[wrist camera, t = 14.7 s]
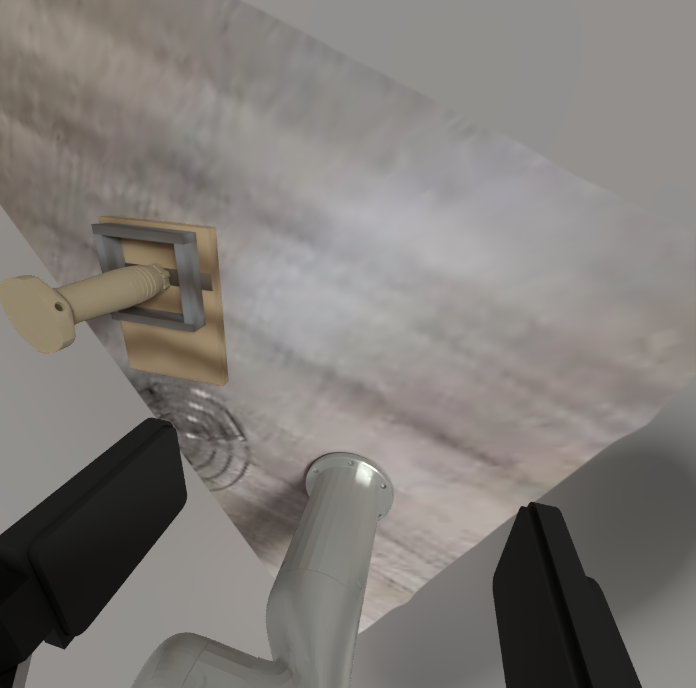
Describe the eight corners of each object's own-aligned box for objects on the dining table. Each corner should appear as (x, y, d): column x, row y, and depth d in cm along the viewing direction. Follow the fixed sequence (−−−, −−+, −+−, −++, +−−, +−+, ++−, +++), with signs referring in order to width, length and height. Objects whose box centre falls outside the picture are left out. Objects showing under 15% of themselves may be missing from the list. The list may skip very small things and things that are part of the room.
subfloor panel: (228, 380, 48) (211, 396, 44) (139, 363, 50) (116, 377, 47) (215, 227, 39) (193, 231, 36) (109, 215, 42) (78, 218, 38)
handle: (158, 306, 44) (35, 358, 30) (132, 256, 42) (-13, 287, 28) (188, 296, 42) (73, 346, 29) (162, 243, 40) (25, 270, 27)
